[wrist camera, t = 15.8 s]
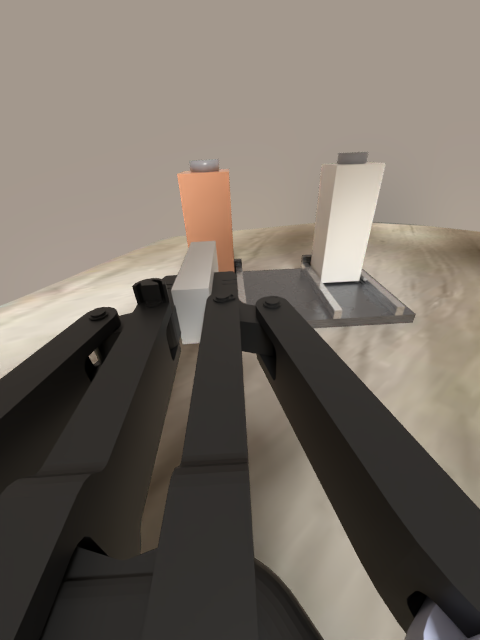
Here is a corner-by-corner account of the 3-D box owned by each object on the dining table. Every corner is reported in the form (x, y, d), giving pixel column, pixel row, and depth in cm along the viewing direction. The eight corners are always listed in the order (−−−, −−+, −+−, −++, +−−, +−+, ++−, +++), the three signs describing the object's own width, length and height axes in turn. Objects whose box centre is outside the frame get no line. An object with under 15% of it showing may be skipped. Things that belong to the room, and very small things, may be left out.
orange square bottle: (234, 275, 36) (228, 158, 29) (235, 291, 32) (228, 159, 25) (198, 277, 36) (182, 160, 29) (195, 294, 32) (175, 161, 25)
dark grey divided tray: (356, 271, 39) (361, 252, 38) (412, 322, 27) (422, 296, 26) (184, 281, 39) (181, 261, 37) (166, 336, 27) (160, 311, 25)
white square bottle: (344, 266, 38) (365, 151, 30) (359, 280, 33) (388, 151, 26) (310, 268, 38) (322, 153, 30) (320, 282, 33) (338, 153, 26)
